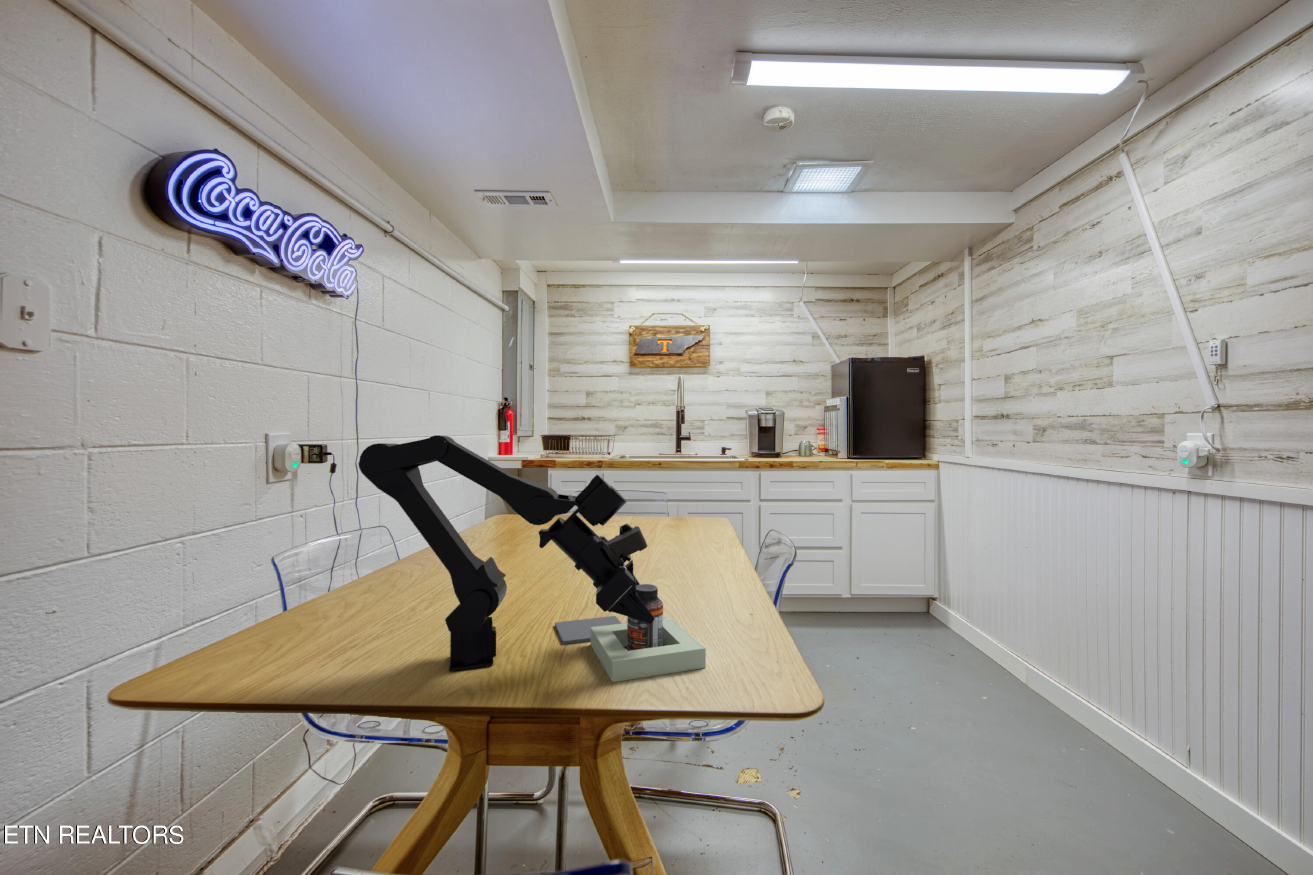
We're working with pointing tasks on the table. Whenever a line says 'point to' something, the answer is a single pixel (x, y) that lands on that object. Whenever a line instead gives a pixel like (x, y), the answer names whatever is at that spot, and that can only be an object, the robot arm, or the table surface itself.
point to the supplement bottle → (642, 632)
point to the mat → (581, 628)
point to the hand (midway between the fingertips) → (650, 611)
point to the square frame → (646, 652)
